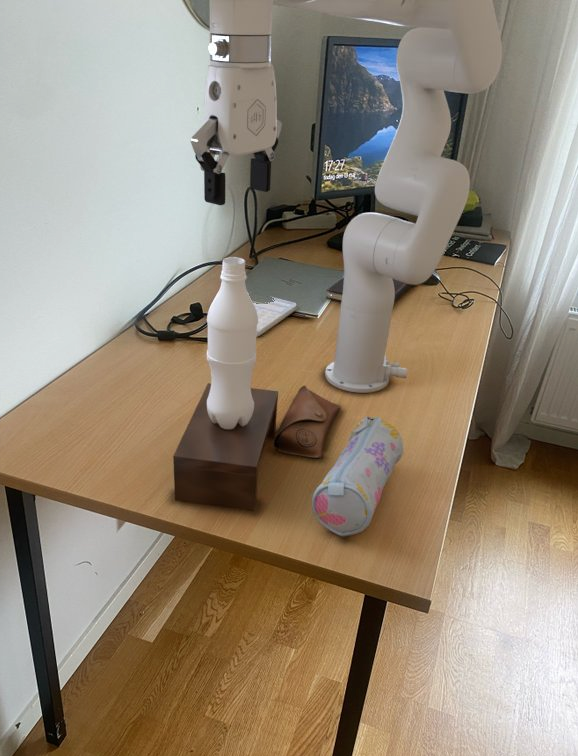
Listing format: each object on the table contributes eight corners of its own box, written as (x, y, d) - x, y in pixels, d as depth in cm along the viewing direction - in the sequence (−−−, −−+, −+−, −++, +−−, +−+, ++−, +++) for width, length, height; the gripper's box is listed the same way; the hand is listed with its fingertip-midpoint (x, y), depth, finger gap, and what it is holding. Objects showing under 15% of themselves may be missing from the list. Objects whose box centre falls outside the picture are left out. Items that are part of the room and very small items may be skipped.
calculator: (206, 324, 151) (206, 316, 150) (250, 297, 165) (250, 290, 164) (257, 338, 145) (257, 330, 144) (298, 309, 159) (298, 302, 158)
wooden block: (275, 431, 114) (278, 391, 110) (254, 511, 96) (256, 466, 92) (207, 423, 116) (207, 383, 111) (174, 500, 98) (173, 456, 94)
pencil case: (348, 455, 109) (355, 405, 104) (400, 469, 106) (410, 419, 101) (305, 531, 93) (311, 477, 88) (365, 550, 90) (375, 495, 85)
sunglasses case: (323, 458, 107) (306, 424, 105) (286, 469, 111) (268, 436, 108) (342, 405, 121) (327, 374, 119) (308, 416, 125) (292, 386, 122)
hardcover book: (325, 298, 166) (326, 289, 164) (359, 272, 182) (360, 264, 181) (386, 312, 159) (388, 303, 158) (415, 284, 176) (417, 275, 175)
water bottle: (219, 437, 98) (221, 272, 84) (199, 414, 103) (197, 255, 89) (261, 426, 101) (270, 265, 86) (240, 405, 106) (245, 249, 92)
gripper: (217, 57, 74) (217, 214, 84) (305, 50, 85) (296, 189, 95) (169, 53, 78) (174, 203, 87) (259, 46, 89) (255, 181, 99)
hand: (238, 196), depth 91 cm, fingers open, 9 cm apart
